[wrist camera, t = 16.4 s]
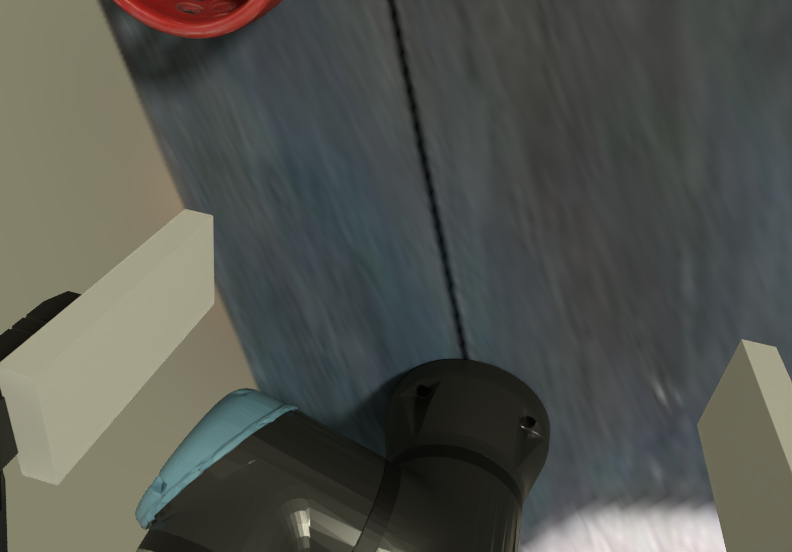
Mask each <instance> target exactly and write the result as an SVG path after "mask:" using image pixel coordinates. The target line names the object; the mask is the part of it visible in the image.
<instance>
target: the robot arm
mask: <svg viewBox="0 0 792 552" xmlns="http://www.w3.org/2000/svg"><path fill="white" fill-rule="evenodd" d="M213 305H214V251H213V215H209V214H204V213H200V212H196V211H191V210H187V209H185V210H183V211H182V212H181V213H180V214H179V215H177V216H176V217H175V218H174V219H173V220H171V221H170V222H169V223H168V224H166V225H165V226H164V227H163V228H162V229H160V230H159V231H158V232H157V233H156V234H154V235H153V236H152V237H151V238H150V239H149V240H147V241H146V242H145V243H144V244H142V245H141V246H140V247H139V248H138V249H136V250H135V251H134V252H133V253H131V254H130V255H129V256H128V257H127V258H125V260H123V261H122V262H121V263H119V264H118V265H117V266H116V267H115V268H113V269H112V270H111V271H110V272H109V273H107V274H106V275H105V276H104V277H103V278H101V279H100V280H99V281H98V282H96V283H95V284H94V285H93V286H92V287H90V288H89V289H88V290H87V291H86V292H84V293H83V294H82V295H81V294H78V293H74V292H70V291H67V292H65V293H62V294H60V295H58V296H55V297H53V298H51V299H48V300H46V301H44V302H42V303H41V304H40V305H39V306H37V307H36V308H35V309H33V310H32V311H31V312H30V313H28V314H27V316H26V318H22V319H21V320H19V321H18V322H17V323H16V324H15V325H13V326H12V329H8V330H7V331H5V332H4V333H3V334H2V335H0V552H8V551H7V522H6V521H7V520H6V490H5V477H4V474H3V470H2V469H3V468H4V467H5V466H6V465H7V464H8V463H9V462H10V461H11V460H12V459H13V458H14V457H15V455H17V457H18V461H19V465H20V468H21V473H22V475H24V476H27V477H31V478H34V479H37V480H40V481H44V482H47V483H51V484H54V485H59V483H60V482H61V481H62V480H63V479H64V478H65V476H66V475H67V474H68V473H69V472H70V470H71V469H72V468H73V467H74V466H75V465H76V464H77V462H78V461H79V460H80V459H81V458H82V457H83V455H84V454H85V453H86V452H87V451H88V450H89V449H90V447H91V446H92V445H93V444H94V443H95V441H96V440H97V439H98V438H99V437H100V436H101V435H102V433H103V432H104V431H105V430H106V429H107V428H108V426H109V425H110V424H111V423H112V422H113V421H114V419H115V418H116V417H117V416H118V415H119V414H120V412H121V411H122V410H123V409H124V408H125V407H126V406H127V404H128V403H129V402H130V401H131V400H132V399H133V397H134V396H135V395H136V394H137V393H138V392H139V390H140V389H141V388H142V387H143V386H144V385H145V384H146V382H147V381H148V380H149V379H150V378H151V376H152V375H153V374H154V373H155V372H156V371H157V370H158V368H159V367H160V366H161V365H162V364H163V362H164V361H165V360H166V359H167V358H168V357H169V356H170V354H171V353H172V352H173V351H174V350H175V349H176V348H177V346H178V345H179V344H180V343H181V342H182V341H183V339H184V338H185V337H186V336H187V335H188V334H189V332H190V331H191V330H192V329H193V328H194V327H195V325H196V324H197V323H198V322H199V321H200V320H201V319H202V317H203V316H204V315H205V314H206V313H207V312H208V310H209V309H210V308H211V307H212V306H213ZM697 427H698V431H699V435H700V440H701V444H702V448H703V453H704V457H705V461H706V465H707V470H708V474H709V478H710V483H711V487H712V491H713V495H714V500H715V504H716V508H717V513H718V517H719V521H720V526H721V530H722V534H723V538H724V543H725V547H726V551H727V552H792V382H791V380H790V378H789V375H788V373H787V371H786V369H785V366H784V364H783V362H782V360H781V357H780V355H779V353H778V351H777V348H776V347H772V346H768V345H764V344H760V343H755V342H751V341H747V340H743V339H742V340H741V342H740V343H739V345H738V347H737V349H736V351H735V353H734V355H733V357H732V359H731V361H730V363H729V365H728V367H727V368H726V370H725V372H724V374H723V376H722V378H721V380H720V382H719V384H718V386H717V388H716V390H715V391H714V393H713V395H712V397H711V399H710V401H709V403H708V405H707V407H706V409H705V411H704V413H703V415H702V416H701V418H700V420H699V422H698V424H697ZM384 433H385V447H386V459H385V458H383V457H382V456H380V455H378V454H376V453H375V452H373V451H371V450H369V449H367V448H365V447H364V446H362V445H360V444H358V443H356V442H354V441H352V440H351V439H349V438H347V437H345V436H343V435H341V434H340V433H338V432H336V431H334V430H332V429H330V428H329V427H327V426H325V425H323V424H322V423H320V422H318V421H316V420H315V419H313V418H311V417H309V416H308V415H306V414H304V413H302V412H300V411H299V410H298V408H297V407H296V406H294V405H287V404H285V403H282V402H280V401H278V400H276V399H274V398H272V397H269V396H267V395H265V394H263V393H261V392H259V391H257V390H254V389H247V388H246V389H239V390H236V391H233V392H231V393H229V394H228V395H227V396H225V397H224V398H223V399H222V400H220V401H219V402H218V403H217V404H216V405H215V406H214V407H213V408H212V409H211V410H210V411H209V412H208V413H207V414H206V415H205V416H204V417H203V418H202V419H201V421H200V422H199V423H198V424H197V425H196V426H195V427H194V428H193V430H192V431H191V432H190V433H189V434H188V436H187V437H186V438H185V439H184V440H183V442H182V443H181V444H180V445H179V447H178V448H177V449H176V451H175V452H174V453H173V454H172V455H171V457H170V458H169V459H168V461H167V462H166V463H165V465H164V466H163V468H162V469H161V470H160V474H159V476H158V477H157V478H156V479H155V480H154V482H153V483H152V485H151V486H150V487H149V488H148V490H147V491H146V492H145V494H144V495H143V497H142V499H141V500H140V502H139V504H138V507H137V509H136V513H135V515H136V520H137V521H138V522H139V523H140V525H141V528H143V529H145V530H147V529H149V531H148V533H147V534H146V536H145V538H144V539H143V541H142V542H141V544H140V546H139V547H138V549H137V551H136V552H518V550H519V539H520V528H521V516H522V506H523V503H524V501H525V499H526V497H527V495H528V494H529V492H530V490H531V488H532V486H533V485H534V483H535V481H536V479H537V477H538V476H539V474H540V472H541V470H542V468H543V466H544V464H545V462H546V459H547V455H548V450H549V437H550V424H549V419H548V415H547V413H546V410H545V408H544V406H543V404H542V402H541V401H540V399H539V398H538V397H537V395H536V394H535V393H534V392H533V391H532V390H531V389H530V388H529V387H528V386H527V385H526V384H525V383H523V382H522V381H521V380H520V379H518V378H517V377H515V376H513V375H512V374H510V373H508V372H506V371H504V370H502V369H500V368H498V367H495V366H492V365H489V364H486V363H482V362H478V361H472V360H464V359H447V360H440V361H435V362H430V363H427V364H424V365H422V366H420V367H418V368H416V369H414V370H412V371H411V372H409V373H408V374H407V375H405V376H404V377H403V378H402V379H401V380H400V381H399V383H398V384H397V385H396V387H395V389H394V391H393V393H392V395H391V398H390V401H389V404H388V406H387V409H386V413H385V419H384Z"/></svg>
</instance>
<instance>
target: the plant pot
mask: <svg viewBox="0 0 792 552" xmlns="http://www.w3.org/2000/svg"><path fill="white" fill-rule="evenodd" d="M113 1H114V2H115V3H116V4H117V5H118V6H119V7H120V8H122V9H123V10H124V11H125V12H127V13H128V14H129V15H131V16H132V17H134V18H135V19H137V20H139V21H140V22H142V23H144V24H146V25H147V26H149V27H151V28H154V29H156V30H159V31H161V32H164V33H168V34H171V35H175V36H180V37H185V38H195V39H203V38H213V37H218V36H222V35H225V34H228V33H231V32H233V31H236V30H238V29H240V28H242V27H244V26H246V25H248V24H250V23H252V22H254V21H255V20H257V19H258V18H260V17H261V16H263V15H265V14H266V13H267V12H269V11H270V10H271V9H273V8H274V7H275V6H277V5H278V4H279V3H280V2H281V1H283V0H203V1H197V0H113ZM183 11H192V12H195V13H196V14H192V13H187V12H183Z"/></svg>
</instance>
